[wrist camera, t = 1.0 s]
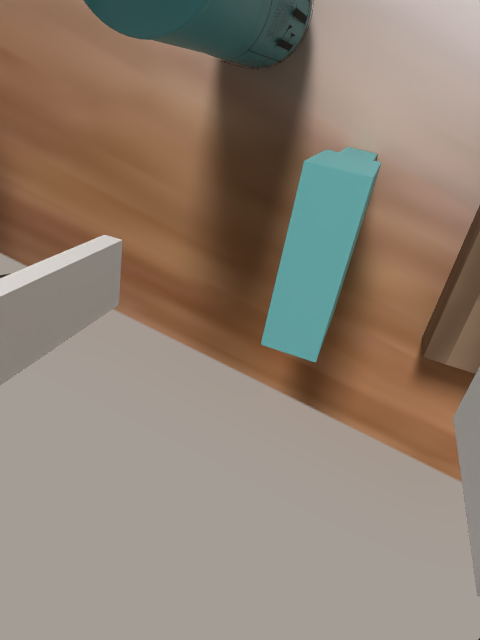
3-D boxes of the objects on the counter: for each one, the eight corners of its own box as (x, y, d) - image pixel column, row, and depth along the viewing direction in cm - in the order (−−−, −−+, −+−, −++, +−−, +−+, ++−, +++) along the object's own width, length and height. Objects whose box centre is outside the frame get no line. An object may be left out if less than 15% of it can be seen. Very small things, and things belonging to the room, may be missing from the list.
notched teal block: (305, 272, 34) (260, 344, 24) (340, 142, 30) (304, 161, 20) (344, 284, 34) (315, 362, 23) (386, 152, 29) (373, 177, 19)
